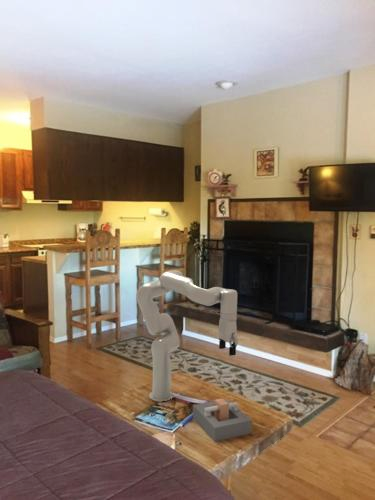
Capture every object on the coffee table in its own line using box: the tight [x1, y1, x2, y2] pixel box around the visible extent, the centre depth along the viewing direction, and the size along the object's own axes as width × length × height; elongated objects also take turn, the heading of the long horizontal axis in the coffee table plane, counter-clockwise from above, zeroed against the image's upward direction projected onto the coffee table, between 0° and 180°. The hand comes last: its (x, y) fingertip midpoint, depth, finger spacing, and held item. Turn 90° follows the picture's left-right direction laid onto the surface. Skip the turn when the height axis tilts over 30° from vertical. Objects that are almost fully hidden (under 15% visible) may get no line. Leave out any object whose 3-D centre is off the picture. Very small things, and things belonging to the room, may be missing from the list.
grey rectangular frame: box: [192, 398, 253, 442], centre depth 191 cm, size 22×18×10 cm
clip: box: [213, 398, 229, 422], centre depth 191 cm, size 6×4×10 cm, turn 24°
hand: (227, 351), depth 200 cm, fingers open, 9 cm apart
